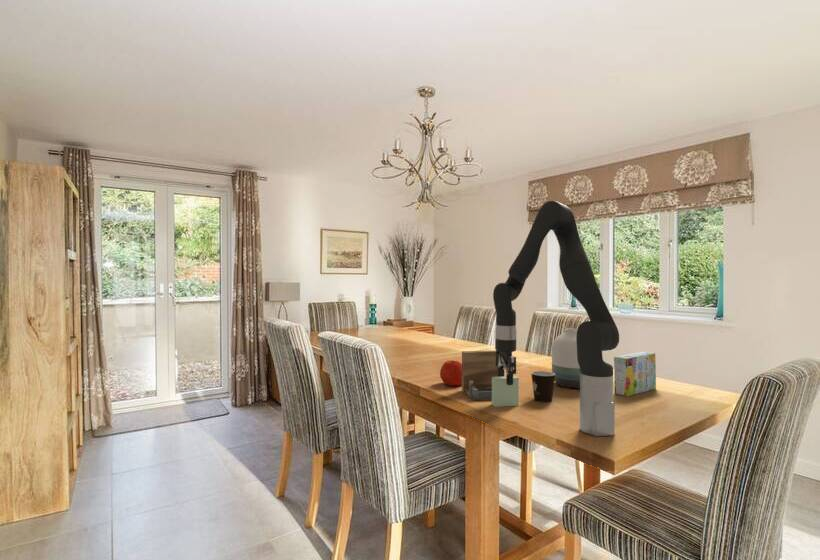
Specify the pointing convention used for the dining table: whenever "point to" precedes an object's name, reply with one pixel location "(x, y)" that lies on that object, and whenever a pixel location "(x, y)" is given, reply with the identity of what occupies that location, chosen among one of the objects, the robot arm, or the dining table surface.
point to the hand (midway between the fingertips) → (505, 381)
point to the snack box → (634, 373)
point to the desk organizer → (478, 373)
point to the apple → (451, 373)
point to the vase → (566, 359)
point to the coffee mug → (543, 385)
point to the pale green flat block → (505, 392)
